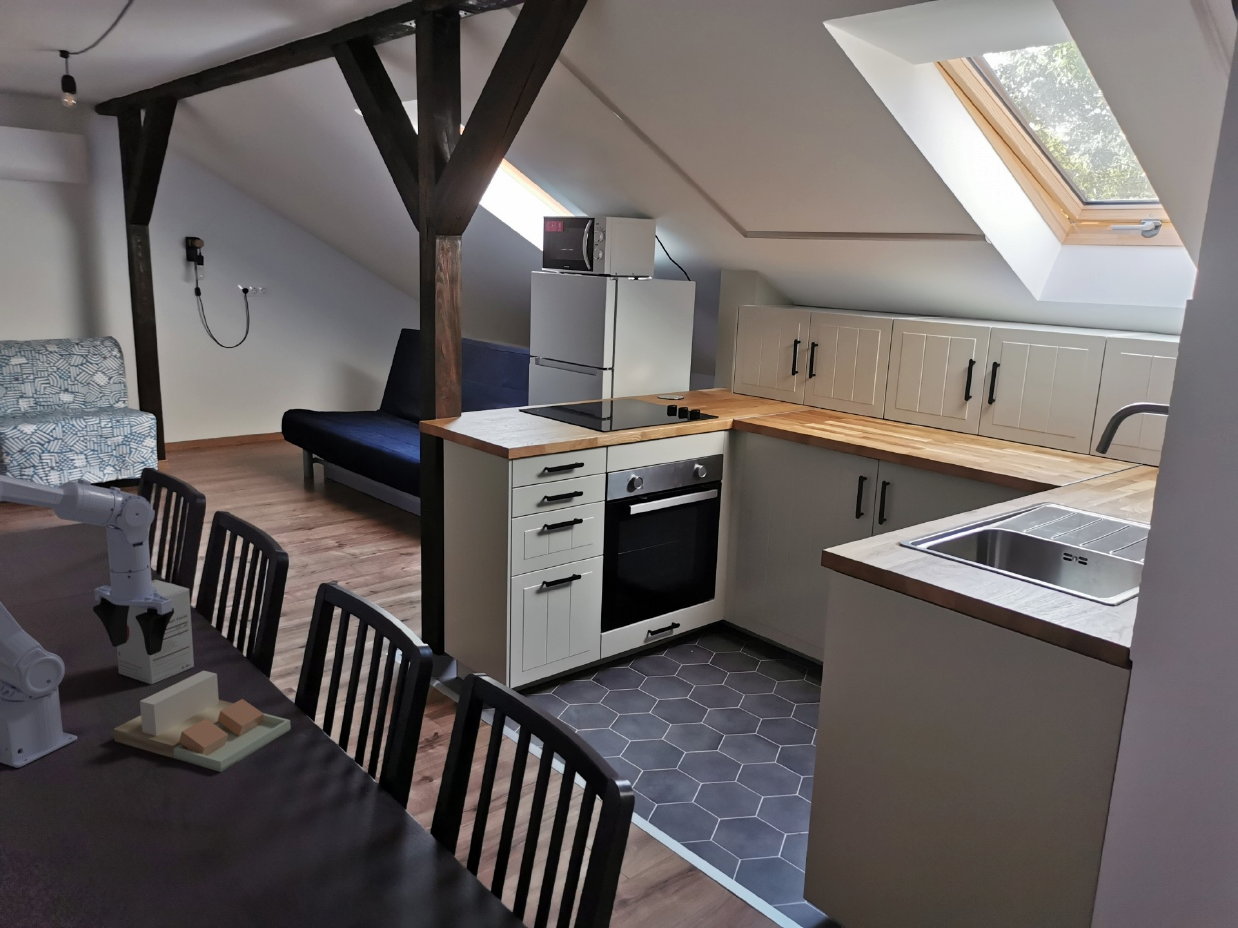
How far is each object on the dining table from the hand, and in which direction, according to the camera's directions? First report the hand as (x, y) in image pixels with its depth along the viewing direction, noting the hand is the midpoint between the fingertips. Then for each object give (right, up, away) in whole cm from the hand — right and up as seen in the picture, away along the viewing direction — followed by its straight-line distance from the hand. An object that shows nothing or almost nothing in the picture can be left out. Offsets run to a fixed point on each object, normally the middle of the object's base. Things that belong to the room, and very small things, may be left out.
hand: (136, 648), depth 151 cm
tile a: (+16, -12, -12) cm, 23 cm away
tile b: (+19, -10, -5) cm, 22 cm away
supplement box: (-4, -7, +15) cm, 17 cm away
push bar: (+10, -9, -6) cm, 15 cm away
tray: (+19, -13, -9) cm, 25 cm away
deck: (+10, -11, -5) cm, 16 cm away
